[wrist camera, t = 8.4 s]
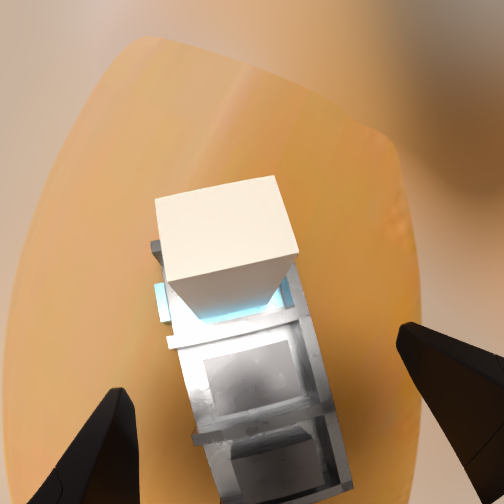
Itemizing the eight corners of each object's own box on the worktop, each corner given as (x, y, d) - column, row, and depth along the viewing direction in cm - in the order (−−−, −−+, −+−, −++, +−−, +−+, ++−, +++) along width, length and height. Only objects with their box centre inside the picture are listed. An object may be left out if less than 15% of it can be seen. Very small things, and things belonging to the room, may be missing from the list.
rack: (335, 470, 18) (359, 493, 14) (214, 502, 17) (211, 532, 12) (272, 236, 25) (281, 207, 20) (154, 262, 23) (136, 238, 19)
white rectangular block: (267, 304, 22) (299, 252, 11) (199, 320, 21) (166, 281, 11) (255, 259, 23) (273, 175, 12) (189, 273, 22) (154, 199, 12)
